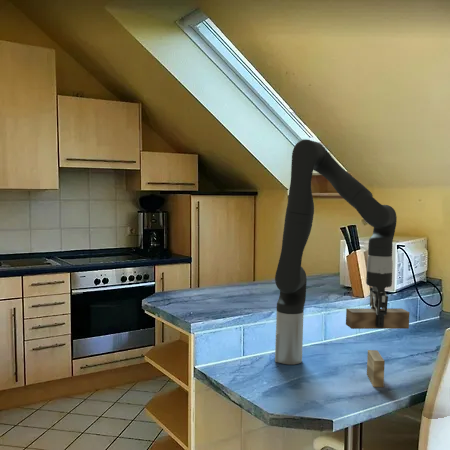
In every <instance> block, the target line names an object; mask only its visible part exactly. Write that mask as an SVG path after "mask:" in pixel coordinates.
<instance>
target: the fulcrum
mask: <svg viewBox="0 0 450 450" xmlns="http://www.w3.org/2000/svg"><path fill="white" fill-rule="evenodd" d="M366 359H367V360H366V361H367V362H366V363H367V364H366V377H368V380H369V381H370V384H371V385H372V387H374V388H384V385H385V384H384V383H385V359H384V358H383V356H382V355H381V353H380V352H379V350H376V349H375V350H374V349H367V358H366Z"/></svg>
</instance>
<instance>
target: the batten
mask: <svg viewBox="0 0 450 450" xmlns="http://www.w3.org/2000/svg"><path fill="white" fill-rule="evenodd" d="M345 311H346V312H345V325H346V326H348V328H350V329H352V330H363V329H364V330H365V329H368V330H369V329H370V330H371V329H372V330H375V329H377V330H378V329H380V330H381V329H383V330H385V329H397V330H398V329H408V330H409V328H410V311H407V309H404V308H389V307H387V314H386V315H385V316H384V327H383V328H377V327H376V309H371V308H346V309H345ZM380 311H382V308H380Z"/></svg>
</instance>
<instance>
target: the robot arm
mask: <svg viewBox="0 0 450 450" xmlns="http://www.w3.org/2000/svg"><path fill="white" fill-rule="evenodd" d="M291 154H292V155H291V166H290V168H291V169H290V170H291V171H290V185H289V190H288V198H287V205H286V210H285V216H284V225H283V226H284V227H283V234H282V240H281V241H282V243H281V249H280V250H281V251H280V256H279V259H278V264H277V268H276V270H275V275H274V282H275V286H276V287H277V289H278V291H279V295H278V296H279V297H278V299H277V302H276V317H275V318H276V321H275V342H274V345H275V348H274V351H275V352H274V362H275V363H279V364H283V365H298V364H301V363H302V362H303V347H304V346H303V344H304V343H303V341H304V338H303V337H304V316H305V315H304V311H305V309H304V308H305V304H306V297H307V273H306V271H305V269H304V268H303V266H302V258H303V254H304V250H305V248H306V245H307V243H308V240H309V238H310V234H311V230H312V226H313V221H314V214H315V204H314V203H315V202H314V198H313V192H312V178H313V177H312V176H313V173H314V172H316V173H318V174H320V175H321V176H322V177H324V178H325V179H326V180H327V181H328V182H329V183H330V184H331V186H332V187H333V189H335V191H336V192H337V194H338V195H339V196H340V197H341V198H343V199H344V200H345V201H346V202H347V203H348V204H349V205H351V207H353V208H354V209H355V210H356V211H357V212H358V214H359V215H360V216H361V218H362V219H363V220H364V221H365V222H366V223H367V224H368V225H370V226H371V227H373V231H372V235H371V236H370V238H369V239H368V249H367V260H366V277H365V279H366V280H365V282H366V285H367V286H369V287H370V288H369V307H370V309H376V327H377V328H383V327H384V316H385V315H386V314H387V308H388V301H389V296H388V295H387V292H386V288H391V287H392V286H393V269H394V268H393V265H394V263H393V241H394V238H395V237H394V236H395V232H396V227H397V223H398V222H397V217H398V216H397V212H396V210H395V209H394V208H393V206H390V205H388V204H382V203H380V202H379V201H378V200H376V198H374V195H373V193H372V192H371V191H370V190H369V189H368V187H366V186H364V185H363V184H362V183H361V182H360V181H359V180H357V179H356V178H355V177H354V176H352V174H351V173H348V172H347V171H346V169H344V168H343V167H342V165H340V164H339V163H338V162H337V161H336V160H335V159H334V157H333V156H332V155H331V154H330V153H329V152H328V150H327V149H326V148H325V146H324V145H323V144H321V143H320V142H318V141H315V140H312V139H306V138H304V139H301V140H299V141H298V142H296V143H295V145H294V146H293V149H292V153H291ZM380 309H382V311H380Z"/></svg>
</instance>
